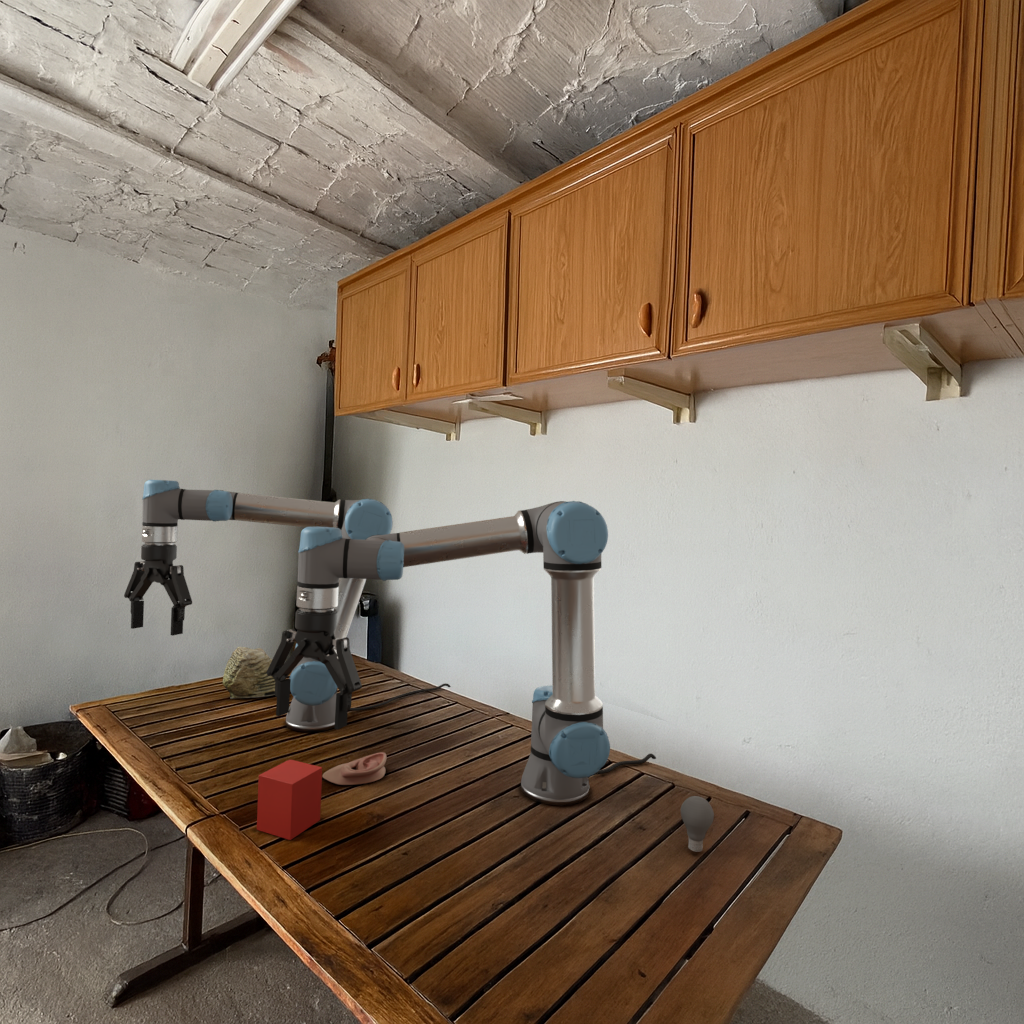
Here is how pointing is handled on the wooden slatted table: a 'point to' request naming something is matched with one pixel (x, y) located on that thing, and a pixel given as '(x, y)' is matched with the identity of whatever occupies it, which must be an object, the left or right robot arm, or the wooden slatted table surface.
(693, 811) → the light bulb
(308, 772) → the brick
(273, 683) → the fossil
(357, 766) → the anatomical model
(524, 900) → the wooden slatted table surface
